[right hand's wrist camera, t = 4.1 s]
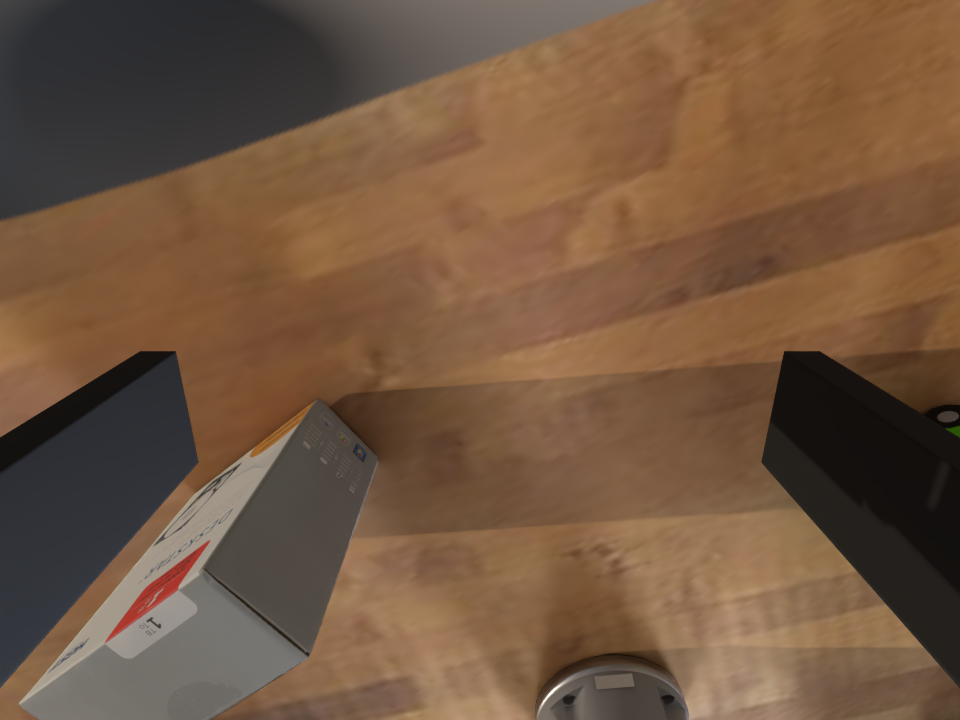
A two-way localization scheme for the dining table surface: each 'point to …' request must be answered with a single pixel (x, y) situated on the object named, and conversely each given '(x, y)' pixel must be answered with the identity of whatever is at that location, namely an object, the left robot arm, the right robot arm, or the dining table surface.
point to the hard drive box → (222, 586)
